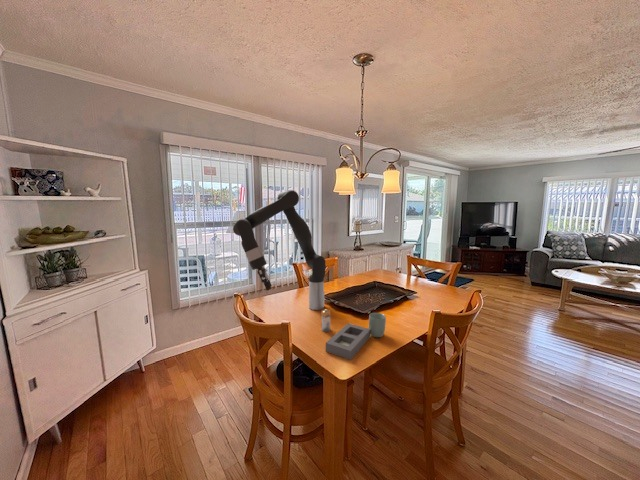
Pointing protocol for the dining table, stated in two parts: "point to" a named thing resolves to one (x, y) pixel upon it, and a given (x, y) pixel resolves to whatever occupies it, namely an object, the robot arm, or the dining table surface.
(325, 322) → the glass bottle
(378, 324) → the cup
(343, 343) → the rack
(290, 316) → the dining table surface
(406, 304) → the dining table surface
